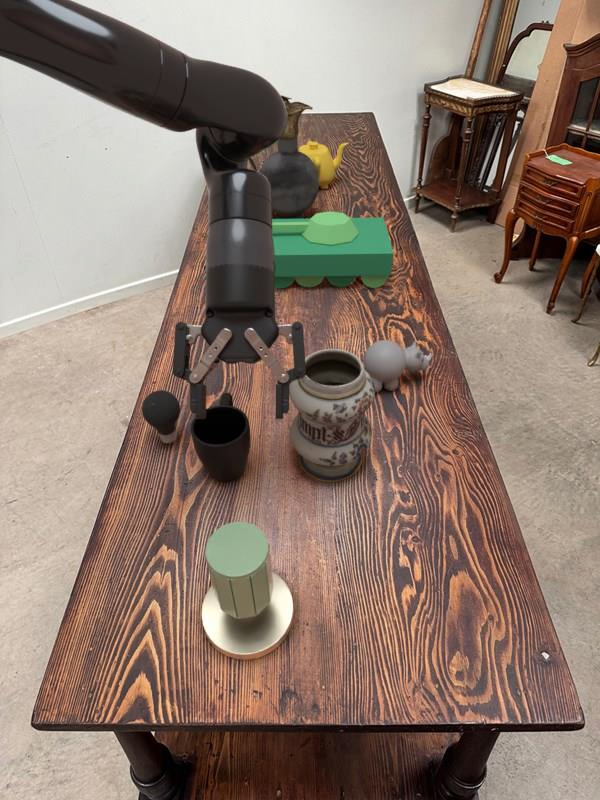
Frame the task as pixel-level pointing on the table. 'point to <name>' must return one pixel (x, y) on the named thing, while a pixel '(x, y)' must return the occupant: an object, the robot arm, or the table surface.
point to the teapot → (323, 161)
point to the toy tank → (331, 250)
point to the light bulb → (162, 413)
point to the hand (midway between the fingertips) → (240, 418)
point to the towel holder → (249, 624)
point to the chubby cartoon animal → (392, 362)
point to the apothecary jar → (332, 414)
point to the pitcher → (291, 170)
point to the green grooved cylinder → (240, 569)
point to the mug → (222, 440)
